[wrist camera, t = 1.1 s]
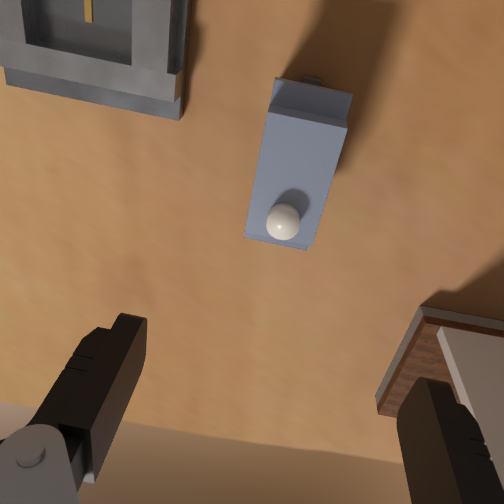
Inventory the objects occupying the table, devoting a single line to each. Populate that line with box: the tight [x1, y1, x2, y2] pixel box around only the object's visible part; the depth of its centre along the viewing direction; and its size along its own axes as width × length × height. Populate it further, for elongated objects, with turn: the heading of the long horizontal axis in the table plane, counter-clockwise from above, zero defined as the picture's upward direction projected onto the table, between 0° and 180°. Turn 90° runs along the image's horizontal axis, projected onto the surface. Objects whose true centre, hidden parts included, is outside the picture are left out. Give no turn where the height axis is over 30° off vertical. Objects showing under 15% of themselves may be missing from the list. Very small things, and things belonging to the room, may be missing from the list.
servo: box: [244, 75, 353, 251], centre depth 24 cm, size 10×4×7 cm, turn 170°
